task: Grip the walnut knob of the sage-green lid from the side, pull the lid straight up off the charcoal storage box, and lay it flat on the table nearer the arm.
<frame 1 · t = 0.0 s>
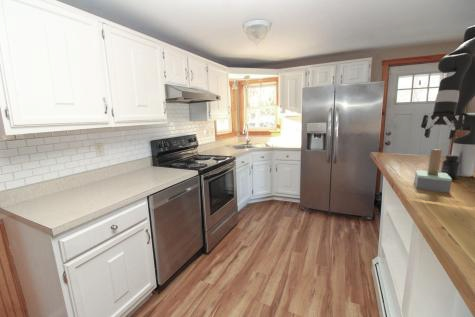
hand: (438, 138, 104), 22 cm above the countertop, tool pointing down, fingers open, 8 cm apart
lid: (431, 178, 102), point 5 cm above the countertop, touching storage box
supplement bottle: (448, 178, 120), on the countertop
storage box: (430, 189, 103), on the countertop
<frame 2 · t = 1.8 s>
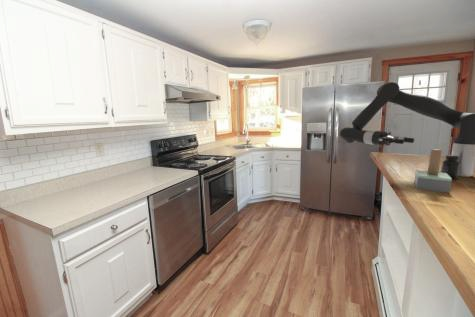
hand: (408, 141, 109), 21 cm above the countertop, tool horizontal, fingers open, 8 cm apart
nothing on the countertop moved.
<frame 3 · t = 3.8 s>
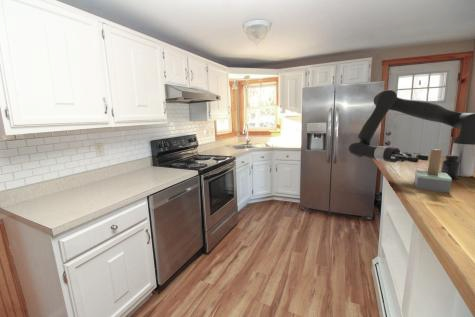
hand: (423, 159, 105), 13 cm above the countertop, tool horizontal, fingers open, 8 cm apart
nothing on the countertop moved.
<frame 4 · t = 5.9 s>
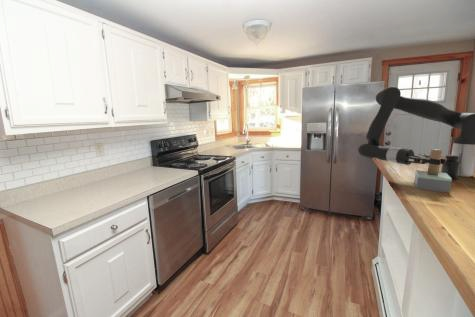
hand: (442, 162, 98), 13 cm above the countertop, tool horizontal, fingers closed on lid, 3 cm apart
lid: (431, 178, 102), point 5 cm above the countertop, touching gripper, storage box
everything else where it was.
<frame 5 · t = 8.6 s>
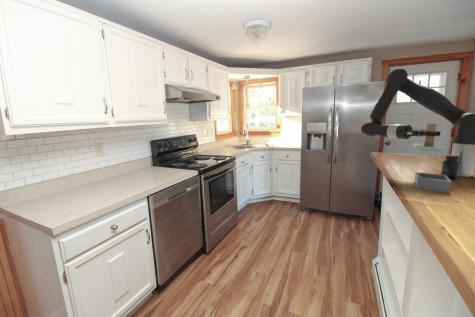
hand: (437, 134, 109), 24 cm above the countertop, tool horizontal, fingers closed on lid, 3 cm apart
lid: (428, 149, 113), point 16 cm above the countertop, touching gripper
everything else where it was.
when the fingers open (9 cm above the countertop, at t = 11.6 s): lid drops 1 cm, on the countertop.
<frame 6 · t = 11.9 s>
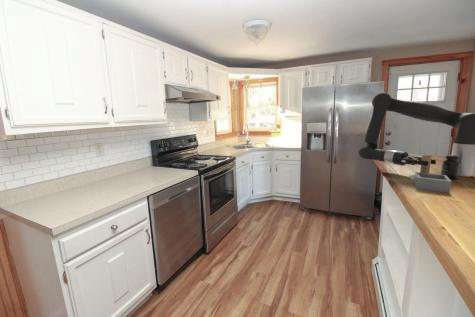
hand: (431, 163, 113), 10 cm above the countertop, tool horizontal, fingers open, 6 cm apart
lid: (423, 180, 117), on the countertop
everything else where it was.
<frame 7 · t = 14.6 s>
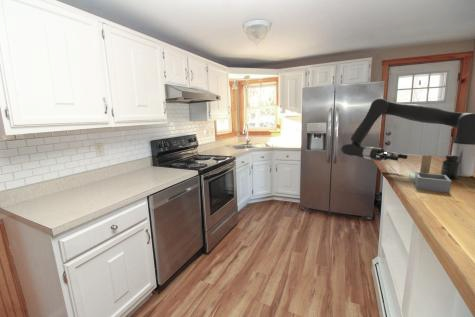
hand: (402, 157, 124), 10 cm above the countertop, tool horizontal, fingers open, 8 cm apart
nothing on the countertop moved.
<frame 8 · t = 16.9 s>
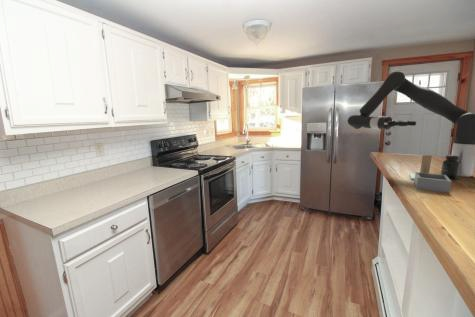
hand: (411, 123, 122), 28 cm above the countertop, tool horizontal, fingers open, 8 cm apart
nothing on the countertop moved.
at the end: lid inside the target area (0.1 cm from its centre), on the countertop; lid tilted 0°; the gripper is holding nothing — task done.
